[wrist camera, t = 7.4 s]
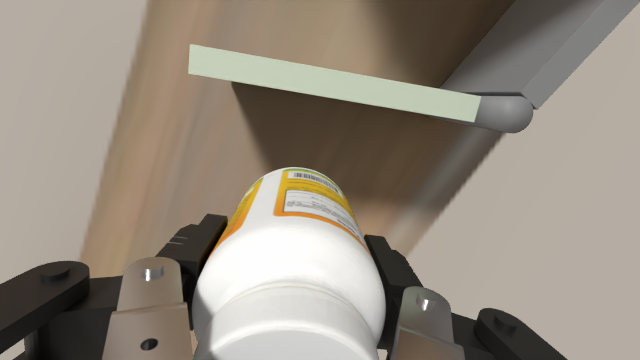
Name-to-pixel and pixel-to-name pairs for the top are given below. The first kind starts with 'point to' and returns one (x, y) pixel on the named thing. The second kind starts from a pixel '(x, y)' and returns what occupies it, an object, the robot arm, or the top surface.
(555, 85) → the door frame
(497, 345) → the robot arm
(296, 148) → the top surface
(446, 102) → the door
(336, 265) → the supplement bottle
